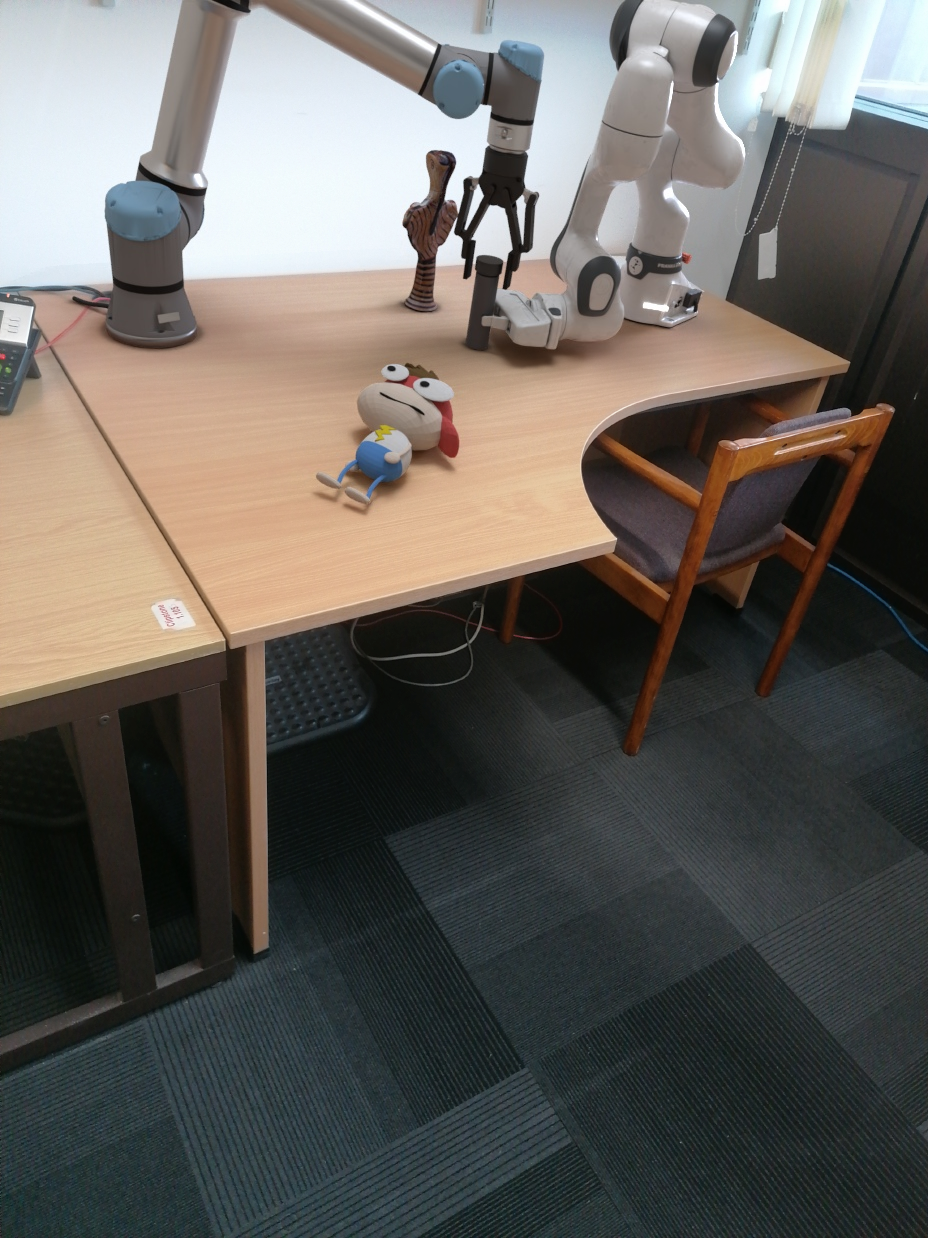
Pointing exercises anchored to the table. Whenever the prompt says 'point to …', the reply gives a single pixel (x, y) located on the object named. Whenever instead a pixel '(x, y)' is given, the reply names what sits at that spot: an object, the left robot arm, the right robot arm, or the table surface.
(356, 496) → the toy
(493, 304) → the dark grey bottle
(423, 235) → the figurine
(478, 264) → the lid
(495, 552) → the table surface
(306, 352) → the table surface
